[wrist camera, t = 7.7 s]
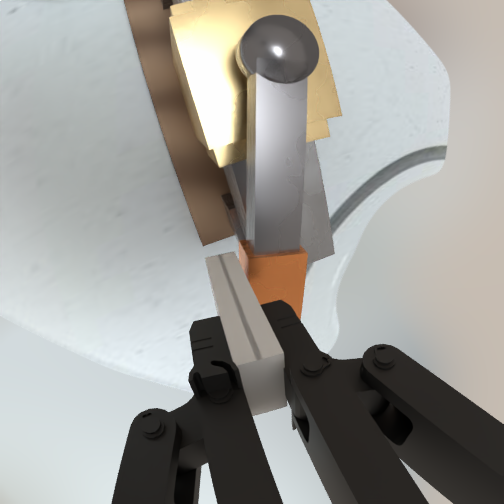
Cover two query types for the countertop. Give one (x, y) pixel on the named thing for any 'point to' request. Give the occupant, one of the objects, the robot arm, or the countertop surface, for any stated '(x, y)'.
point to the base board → (179, 122)
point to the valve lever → (276, 155)
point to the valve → (235, 101)
